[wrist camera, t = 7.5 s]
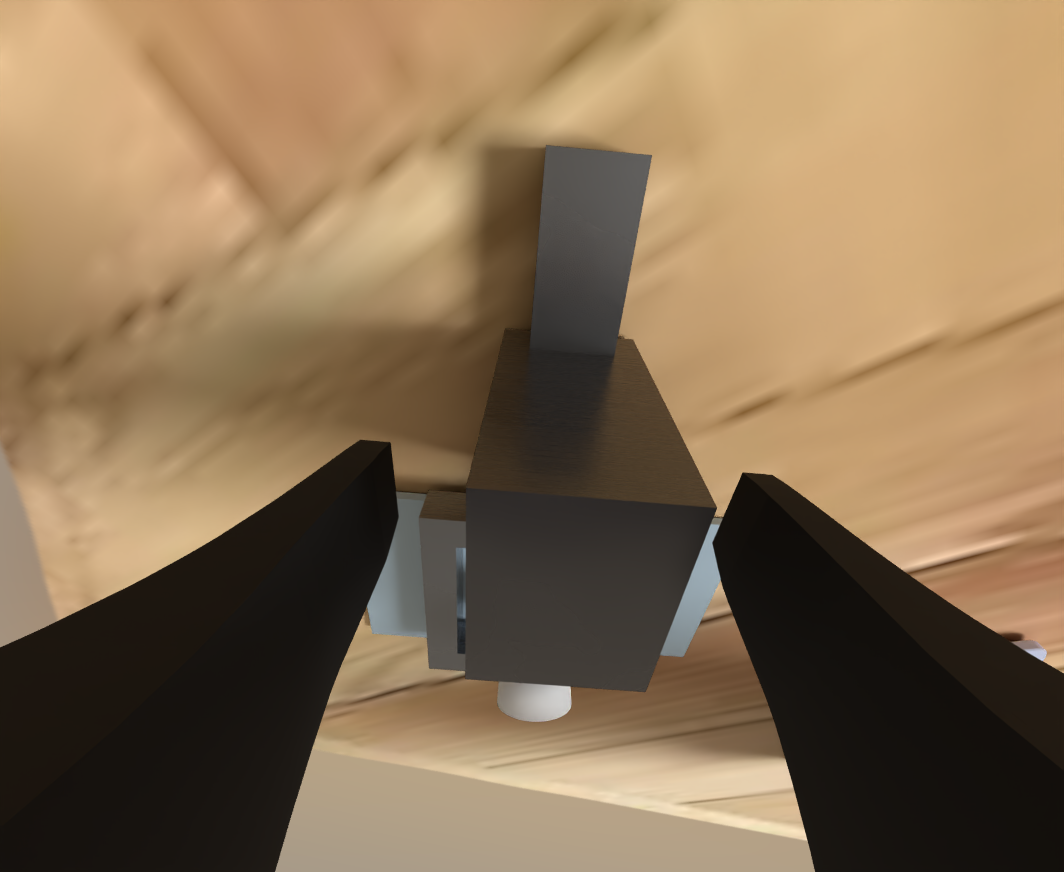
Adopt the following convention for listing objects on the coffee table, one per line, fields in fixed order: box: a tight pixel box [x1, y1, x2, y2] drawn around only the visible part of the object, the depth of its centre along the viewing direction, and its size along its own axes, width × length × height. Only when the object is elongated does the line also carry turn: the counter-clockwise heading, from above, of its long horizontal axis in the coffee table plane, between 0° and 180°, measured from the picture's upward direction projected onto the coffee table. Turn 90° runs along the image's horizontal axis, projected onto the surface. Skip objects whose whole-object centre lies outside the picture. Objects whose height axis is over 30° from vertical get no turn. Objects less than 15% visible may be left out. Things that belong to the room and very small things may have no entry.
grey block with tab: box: [419, 145, 717, 692], centre depth 10 cm, size 16×7×6 cm, turn 175°
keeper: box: [367, 492, 723, 722], centre depth 14 cm, size 7×12×4 cm, turn 85°
